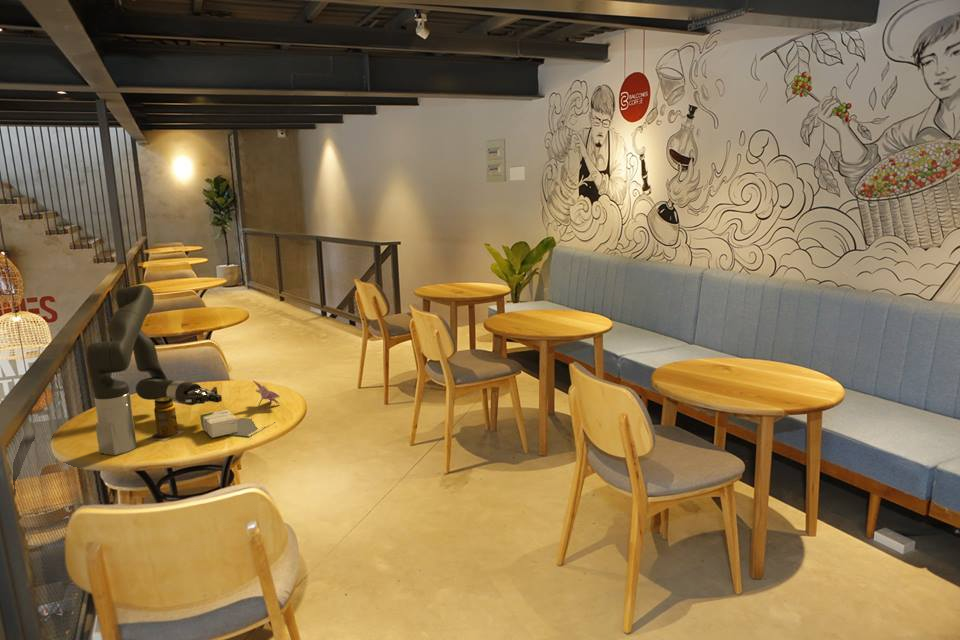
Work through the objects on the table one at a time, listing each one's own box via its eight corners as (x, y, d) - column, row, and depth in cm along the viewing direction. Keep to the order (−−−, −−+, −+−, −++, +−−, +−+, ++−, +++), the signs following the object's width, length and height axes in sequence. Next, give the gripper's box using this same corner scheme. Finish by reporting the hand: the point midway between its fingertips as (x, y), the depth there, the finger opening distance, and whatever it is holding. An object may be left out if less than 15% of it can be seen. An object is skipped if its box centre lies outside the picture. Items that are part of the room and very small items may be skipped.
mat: (249, 437, 206) (249, 435, 206) (212, 433, 210) (212, 432, 210) (276, 422, 219) (275, 420, 219) (240, 418, 223) (240, 417, 223)
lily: (281, 413, 230) (288, 387, 233) (247, 405, 226) (255, 378, 228) (274, 415, 241) (281, 389, 244) (241, 407, 236) (249, 381, 239)
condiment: (184, 431, 213) (180, 396, 210) (165, 441, 205) (160, 404, 202) (165, 430, 215) (160, 394, 212) (146, 439, 207) (141, 403, 204)
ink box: (201, 428, 214) (211, 439, 204) (200, 414, 213) (209, 423, 203) (229, 422, 218) (239, 432, 209) (227, 408, 217) (237, 417, 208)
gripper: (165, 387, 216) (201, 393, 208) (199, 377, 227) (234, 382, 219) (168, 409, 217) (204, 416, 209) (201, 397, 229) (237, 403, 221)
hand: (219, 398), depth 214 cm, fingers closed
